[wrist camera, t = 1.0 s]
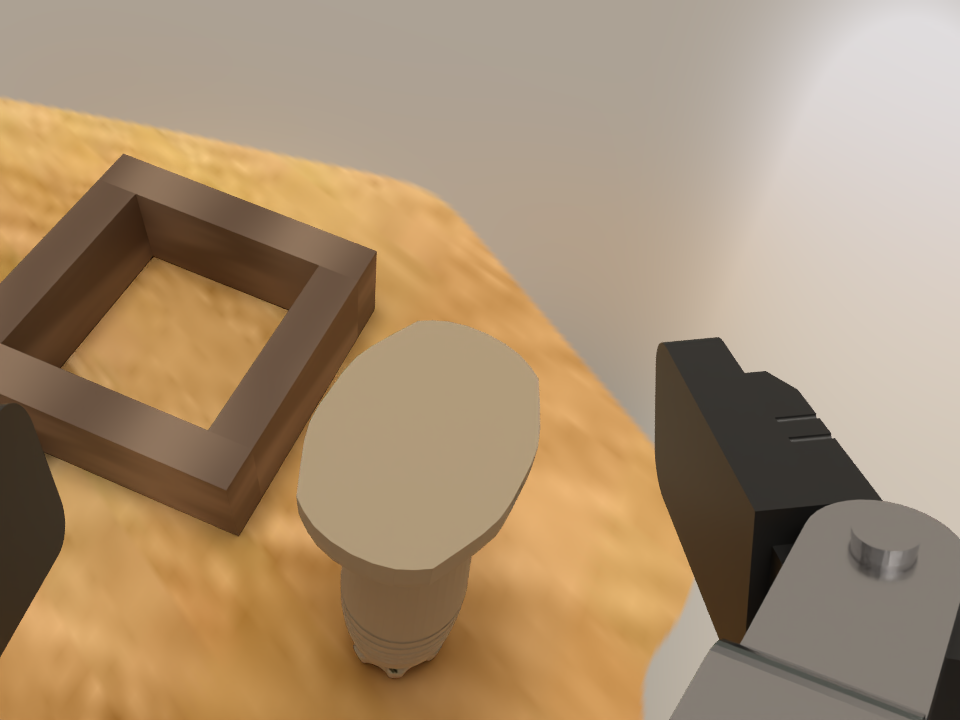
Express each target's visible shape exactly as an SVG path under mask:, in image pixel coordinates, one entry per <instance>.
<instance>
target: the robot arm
mask: <svg viewBox="0 0 960 720" xmlns="http://www.w3.org/2000/svg"><path fill="white" fill-rule="evenodd" d="M655 393H656V395H655V461H656V470H657V476H658V482H659V486H660V490H661V494H662V496H663V499H664V502H665V504H666V507H667V509H668V512H669V514H670V517H671V519H672V522H673V524H674V527H675V529H676V532H677V534H678V537H679V539H680V542H681V544H682V547H683V549H684V552H685V554H686V557H687V560H688V562H689V565H690V567H691V570H692V572H693V575H694V577H695V580H696V582H697V585H698V587H699V590H700V592H701V595H702V597H703V600H704V602H705V605H706V607H707V610H708V612H709V615H710V617H711V620H712V622H713V625H714V627H715V630H716V632H717V635H718V637H719V640H718V641H717V642H716V643H715V644H714V645H713V647H712V648H711V649H710V650H709V652H708V654H707V655H706V657H705V658H704V660H703V662H702V663H701V665H700V667H699V669H698V671H697V672H696V674H695V676H694V677H693V679H692V681H691V683H690V684H689V686H688V688H687V690H686V691H685V693H684V695H683V697H682V698H681V700H680V702H679V703H678V705H677V707H676V709H675V710H674V712H673V714H672V716H671V717H670V719H669V720H960V539H959V538H958V537H957V535H955V534H954V533H953V532H952V531H951V530H950V529H949V528H948V527H946V526H945V525H944V524H942V523H941V522H939V521H938V520H936V519H934V518H932V517H931V516H929V515H927V514H925V513H922V512H920V511H918V510H915V509H912V508H909V507H906V506H903V505H899V504H895V503H891V502H885V501H883V500H881V498H880V497H879V495H878V494H877V493H876V492H875V490H874V489H873V487H872V486H871V485H870V484H869V482H868V481H867V480H866V478H865V477H864V476H863V474H862V473H861V472H860V470H859V469H858V468H857V467H856V465H855V464H854V463H853V461H852V460H851V459H850V457H849V456H848V455H847V454H846V452H845V451H844V450H843V448H842V447H841V446H840V444H839V443H838V442H837V440H836V439H835V438H834V439H832V438H831V433H830V431H829V430H828V429H827V427H826V426H825V425H824V423H823V422H822V421H821V420H820V418H818V419H817V418H816V413H815V412H814V410H813V409H812V408H811V406H810V405H809V404H808V402H807V401H806V400H805V399H804V397H803V396H802V395H801V393H800V392H799V391H798V390H797V389H795V388H794V387H792V386H790V385H789V384H787V383H785V382H783V381H782V380H780V379H778V378H777V377H775V376H773V375H771V374H770V373H768V372H766V371H763V372H751V373H744V372H743V370H742V369H741V367H740V366H739V364H738V363H737V361H736V360H735V358H734V357H733V355H732V354H731V352H730V351H729V349H728V348H727V346H726V345H725V343H724V342H723V341H722V339H720V338H719V337H718V338H717V337H715V338H705V339H694V340H684V341H674V342H663V343H660V344H659V346H658V349H657V355H656V392H655ZM64 534H65V516H64V510H63V505H62V502H61V499H60V496H59V493H58V491H57V488H56V485H55V482H54V480H53V477H52V474H51V472H50V469H49V466H48V463H47V461H46V458H45V455H44V452H43V450H42V447H41V444H40V441H39V439H38V436H37V433H36V430H35V428H34V425H33V422H32V420H31V418H30V416H29V414H28V412H27V411H26V410H25V409H24V408H23V407H22V406H21V405H19V404H17V403H6V404H0V657H1V655H2V653H3V651H4V650H5V648H6V646H7V644H8V642H9V641H10V639H11V637H12V635H13V634H14V632H15V630H16V628H17V627H18V625H19V623H20V621H21V620H22V618H23V616H24V614H25V613H26V611H27V609H28V607H29V606H30V604H31V602H32V600H33V599H34V597H35V595H36V593H37V592H38V590H39V588H40V586H41V585H42V583H43V581H44V579H45V578H46V576H47V574H48V572H49V571H50V569H51V567H52V565H53V564H54V562H55V560H56V558H57V557H58V555H59V553H60V551H61V548H62V545H63V540H64Z"/></svg>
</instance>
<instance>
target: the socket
mask: <svg viewBox="0 0 960 720" xmlns="http://www.w3.org/2000/svg"><path fill="white" fill-rule="evenodd" d="M376 255H377V251H374V250H372V249H369V248H367V247H364V246H361V245H359V244H356V243H354V242H351V241H348V240H346V239H343V238H341V237H338V236H336V235H333V234H330V233H328V232H325V231H323V230H320V229H317V228H315V227H312V226H310V225H307V224H304V223H302V222H299V221H297V220H294V219H291V218H289V217H286V216H284V215H281V214H278V213H276V212H273V211H271V210H268V209H265V208H263V207H260V206H258V205H255V204H253V203H250V202H247V201H245V200H242V199H240V198H237V197H234V196H232V195H229V194H227V193H224V192H221V191H219V190H216V189H214V188H211V187H208V186H206V185H203V184H201V183H198V182H195V181H193V180H190V179H188V178H185V177H182V176H180V175H177V174H175V173H172V172H169V171H167V170H164V169H162V168H159V167H157V166H154V165H151V164H149V163H146V162H144V161H141V160H138V159H136V158H133V157H131V156H128V155H125V154H123V155H122V156H121V157H120V158H119V159H118V160H117V161H116V162H115V163H114V164H113V165H112V166H111V167H110V168H109V169H108V170H107V171H106V173H105V174H104V175H103V176H102V177H101V178H100V179H99V180H98V181H97V182H96V183H95V184H94V185H93V186H92V187H91V188H90V189H89V190H88V192H87V193H86V194H85V195H84V196H83V197H82V198H81V199H80V200H79V201H78V202H77V203H76V204H75V205H74V206H73V207H72V208H71V209H70V210H69V212H68V213H67V214H66V215H65V216H64V217H63V218H62V219H61V220H60V221H59V222H58V223H57V224H56V225H55V226H54V227H53V228H52V229H51V231H50V232H49V233H48V234H47V235H46V236H45V237H44V238H43V239H42V240H41V241H40V242H39V243H38V244H37V245H36V246H35V247H34V248H33V249H32V251H31V252H30V253H29V254H28V255H27V256H26V257H25V258H24V259H23V260H22V261H21V262H20V263H19V264H18V265H17V266H16V267H15V268H14V269H13V271H12V272H11V273H10V274H9V275H8V276H7V277H6V278H5V279H4V280H3V281H2V282H1V283H0V404H6V403H17V404H19V405H21V406H22V407H23V408H24V409H25V410H26V411H27V412H28V414H29V416H30V418H31V420H32V422H33V425H34V428H35V430H36V433H37V436H38V439H39V441H40V444H41V447H42V450H43V452H45V453H48V454H50V455H52V456H55V457H57V458H59V459H62V460H64V461H66V462H69V463H71V464H73V465H75V466H78V467H80V468H82V469H85V470H87V471H89V472H92V473H94V474H96V475H99V476H101V477H103V478H105V479H108V480H110V481H112V482H115V483H117V484H119V485H122V486H124V487H126V488H129V489H131V490H133V491H135V492H138V493H140V494H142V495H145V496H147V497H149V498H152V499H154V500H156V501H159V502H161V503H163V504H165V505H168V506H170V507H172V508H175V509H177V510H179V511H182V512H184V513H186V514H189V515H191V516H193V517H195V518H198V519H200V520H202V521H205V522H207V523H209V524H212V525H214V526H216V527H219V528H221V529H223V530H226V531H228V532H230V533H232V534H235V535H237V536H239V535H240V533H241V531H242V530H243V528H244V526H245V525H246V523H247V521H248V520H249V518H250V516H251V515H252V513H253V511H254V510H255V508H256V506H257V505H258V503H259V501H260V500H261V498H262V496H263V495H264V493H265V491H266V490H267V488H268V486H269V485H270V483H271V481H272V480H273V478H274V476H275V475H276V473H277V471H278V470H279V468H280V466H281V465H282V463H283V461H284V460H285V458H286V456H287V455H288V453H289V451H290V450H291V448H292V446H293V445H294V443H295V441H296V440H297V438H298V436H299V435H300V433H301V431H302V430H303V428H304V426H305V424H306V423H307V421H308V419H309V418H310V416H311V414H312V413H313V411H314V409H315V408H316V406H317V404H318V403H319V401H320V399H321V398H322V396H323V394H324V393H325V391H326V389H327V388H328V386H329V384H330V383H331V381H332V379H333V378H334V376H335V374H336V373H337V371H338V369H339V368H340V366H341V364H342V363H343V361H344V359H345V358H346V356H347V354H348V353H349V351H350V349H351V348H352V346H353V344H354V343H355V341H356V339H357V338H358V336H359V334H360V333H361V331H362V329H363V328H364V326H365V324H366V323H367V321H368V319H369V318H370V316H371V314H372V313H373V311H374V309H375V283H376ZM153 256H155V257H157V258H160V259H162V260H165V261H167V262H170V263H172V264H175V265H177V266H180V267H182V268H185V269H187V270H190V271H192V272H195V273H197V274H200V275H202V276H205V277H207V278H210V279H212V280H215V281H217V282H220V283H222V284H225V285H227V286H230V287H232V288H235V289H237V290H240V291H242V292H245V293H247V294H250V295H252V296H255V297H257V298H260V299H262V300H265V301H267V302H270V303H272V304H275V305H278V306H280V307H283V308H285V309H288V310H289V311H288V313H287V314H286V315H285V317H284V318H283V320H282V321H281V323H280V324H279V326H278V327H277V329H276V330H275V332H274V333H273V335H272V336H271V338H270V339H269V341H268V342H267V344H266V345H265V347H264V348H263V350H262V351H261V353H260V354H259V356H258V357H257V359H256V360H255V362H254V363H253V364H252V366H251V367H250V369H249V370H248V372H247V373H246V375H245V376H244V378H243V379H242V381H241V382H240V384H239V385H238V387H237V388H236V390H235V391H234V393H233V394H232V396H231V397H230V399H229V400H228V402H227V403H226V405H225V406H224V408H223V409H222V411H221V412H220V413H219V415H218V416H217V418H216V419H215V421H214V422H213V424H212V425H211V427H210V428H209V430H205V429H203V428H201V427H198V426H196V425H194V424H191V423H189V422H186V421H184V420H182V419H179V418H177V417H174V416H172V415H170V414H167V413H165V412H163V411H160V410H158V409H155V408H153V407H151V406H148V405H146V404H144V403H141V402H139V401H136V400H134V399H132V398H129V397H127V396H124V395H122V394H120V393H117V392H115V391H113V390H110V389H108V388H105V387H103V386H101V385H98V384H96V383H94V382H91V381H89V380H86V379H84V378H82V377H79V376H77V375H75V374H72V373H70V372H67V371H65V370H63V369H60V367H61V366H62V365H63V364H64V363H65V361H66V360H67V359H68V358H69V357H70V355H71V354H72V353H73V352H74V351H75V349H76V348H77V347H78V346H79V345H80V343H81V342H82V341H83V340H84V339H85V337H86V336H87V335H88V334H89V333H90V331H91V330H92V329H93V328H94V327H95V325H96V324H97V323H98V322H99V321H100V319H101V318H102V317H103V316H104V315H105V313H106V312H107V311H108V310H109V309H110V307H111V306H112V305H113V304H114V303H115V301H116V300H117V299H118V298H119V297H120V295H121V294H122V293H123V292H124V291H125V289H126V288H127V287H128V286H129V285H130V283H131V282H132V281H133V280H134V279H135V277H136V276H137V275H138V274H139V273H140V271H141V270H142V269H143V268H144V266H145V265H146V264H147V263H148V262H149V260H150V259H151V258H152V257H153Z"/></svg>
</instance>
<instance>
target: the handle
mask: <svg viewBox="0 0 960 720" xmlns="http://www.w3.org/2000/svg"><path fill="white" fill-rule="evenodd" d="M539 433H540V399H539V379H538V377H537V376H536V374H535V373H534V371H533V370H532V368H531V367H530V366H529V365H528V364H527V362H526V361H525V360H524V359H523V358H522V357H521V356H520V355H519V354H518V353H517V352H515V351H514V350H513V349H511V348H510V347H509V346H507V345H506V344H504V343H503V342H501V341H499V340H497V339H495V338H494V337H492V336H490V335H488V334H486V333H484V332H481V331H479V330H476V329H474V328H471V327H469V326H465V325H461V324H457V323H453V322H447V321H417V322H415V323H413V324H411V325H410V326H408V327H406V328H404V329H402V330H400V331H398V332H396V333H394V334H392V335H391V336H389V337H387V338H385V339H384V340H382V341H380V342H378V343H376V344H375V345H373V346H371V347H370V348H368V349H367V350H366V351H364V352H363V353H362V354H360V355H359V356H357V357H356V358H355V359H354V360H353V361H352V362H351V364H350V365H349V366H348V367H347V368H346V369H345V370H344V371H343V373H342V374H341V375H340V377H339V378H338V379H337V381H336V382H335V384H334V385H333V386H332V388H331V389H330V390H329V392H328V393H327V395H326V396H325V397H324V399H323V400H322V402H321V403H320V404H319V406H318V408H317V410H316V411H315V413H314V415H313V417H312V418H311V420H310V423H309V426H308V429H307V433H306V436H305V440H304V445H303V452H302V458H301V464H300V472H299V480H298V488H297V496H296V497H297V505H298V512H299V515H300V518H301V520H302V522H303V524H304V526H305V528H306V530H307V532H308V533H309V535H310V536H311V538H312V539H313V540H314V542H315V543H316V545H317V546H318V547H319V548H320V549H321V550H323V551H324V552H325V553H326V554H327V555H328V556H329V557H330V558H331V559H332V560H334V561H335V562H337V563H338V564H340V565H342V570H341V601H342V608H343V614H344V618H345V622H346V626H347V629H348V632H349V634H350V636H351V638H352V640H353V642H354V650H355V652H356V654H357V656H358V657H359V659H360V660H361V661H362V662H363V663H371V664H374V665H376V666H378V667H380V668H381V669H383V670H384V671H385V672H386V673H387V676H388V677H391V678H401V677H402V676H403V675H404V673H405V672H406V671H407V670H408V669H409V668H411V667H413V666H415V665H418V664H420V663H422V662H423V661H425V660H427V661H430V660H431V659H433V658H434V657H435V656H436V654H437V653H438V651H439V650H440V648H441V647H442V644H443V642H444V641H445V639H446V638H447V636H448V634H449V633H450V631H451V629H452V627H453V625H454V623H455V621H456V618H457V616H458V614H459V611H460V609H461V605H462V603H463V600H464V597H465V593H466V589H467V584H468V577H469V569H470V562H471V556H473V555H474V554H475V553H476V552H478V551H479V550H480V549H481V548H482V547H483V546H485V545H486V544H487V543H488V542H489V541H490V540H492V539H493V538H494V537H495V536H496V535H497V533H498V532H499V530H500V529H501V527H502V526H503V524H504V522H505V521H506V519H507V517H508V515H509V513H510V511H511V510H512V508H513V506H514V504H515V502H516V500H517V498H518V496H519V494H520V492H521V490H522V488H523V486H524V484H525V482H526V480H527V477H528V475H529V473H530V470H531V468H532V465H533V461H534V458H535V455H536V451H537V448H538V442H539Z"/></svg>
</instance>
